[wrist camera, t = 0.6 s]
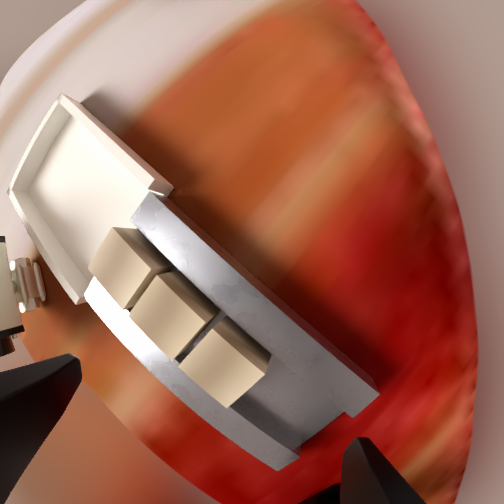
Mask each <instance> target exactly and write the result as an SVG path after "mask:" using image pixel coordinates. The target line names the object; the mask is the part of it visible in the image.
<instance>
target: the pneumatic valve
mask: <svg viewBox="0 0 504 504" xmlns="http://www.w3.org/2000/svg"><path fill="white" fill-rule="evenodd" d="M10 265H11V270H10V268H9V262H8V256H7V249H6V242H5V236H0V357H1V356H4V355H7V354H10V353H12V352H14V351H15V348H14V345H13V342H12V339H11V335H12V338H13V339H14V338H17V337H18V336H17V333H20V332H24V331H25V330H24V327H23V323H22V320H21V316H20V313H19V309H18V304H19V307H20V310H21V312H22V313H25V312H29V311H33V310H36V309H39V308H40V302H39V298H40V300H42V302H43V301H45V299H46V297H45V296H46V291H45V287H44V283H43V279H42V274H41V269H40V265H38V263H33V264H32V265H33V266H31V262H30V259H29V258H26V257H24V258H18V259H15V260H13V261H12V262H11V264H10Z"/></svg>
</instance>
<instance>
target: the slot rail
mask: <svg viewBox="0 0 504 504" xmlns="http://www.w3.org/2000/svg"><path fill="white" fill-rule="evenodd" d="M130 221H131V222H132V223H133V224H134V225H135V226H136V227H137V230H138V231H139V232H140V233H141V234H142V235H143V236H144V237H145V238H146V239H147V240H148V241H149V242H150V243H151V244H152V245H153V246H154V247H155V248H156V249H157V250H158V251H159V252H160V253H161V254H162V255H163V256H164V257H165V258H166V259H167V260H168V261H169V262H170V263H171V264H172V265H173V266H172V267H171V269H170V270H169V271H168V272H173V271H179V272H180V273H181V274H182V275H183V276H184V277H185V278H186V279H187V280H188V281H189V282H190V283H191V284H192V285H194V286H195V287H196V288H197V289H198V290H199V291H200V292H201V293H202V294H203V295H204V296H205V297H206V298H207V299H208V300H210V301H211V302H212V303H213V304H214V305H215V306H216V307H217V308H218V309H219V310H220V312H219V313H218V314H217V316H216V317H215V318H214V319H213V320H212V321H211V322H210V323H209V325H208V326H207V327H206V328H205V329H204V330H203V331H202V333H201V334H200V335H199V336H198V337H197V338H196V339H195V340H194V342H193V343H192V344H191V345H190V346H189V347H188V348H186V349H185V350H184V351H183V352H182V353H181V354H179V355H178V356H177V357H176V358H175V359H173V360H171V359H170V358H168V357H167V356H166V355H165V354H164V353H163V352H162V351H161V350H160V349H159V348H158V347H157V346H156V345H155V344H154V343H153V342H152V341H151V340H150V339H149V338H148V337H147V336H146V335H145V334H144V333H143V332H142V330H141V329H140V328H139V327H138V326H137V325H136V324H135V323H134V322H133V321H132V320H131V319H130V318H129V317H128V315H129V313H130V312H131V310H132V309H133V308H134V306H133V307H131V308H128V309H125V310H122V309H121V308H120V307H119V305H118V304H117V303H116V302H115V301H114V300H113V299H112V297H111V296H110V295H109V294H108V293H107V292H106V290H105V289H104V288H103V287H102V286H101V284H100V283H99V282H98V281H97V280H96V278H95V277H94V278H93V279H92V281H91V283H90V285H89V287H88V288H87V290H86V292H85V294H84V296H83V297H84V298H85V299H86V301H87V302H88V303H89V304H90V306H91V307H92V308H93V309H94V311H95V312H96V313H97V314H98V315H99V317H100V318H101V319H102V320H103V321H104V323H105V324H106V325H107V326H108V327H109V328H110V329H111V331H112V332H113V333H114V334H115V335H116V336H117V337H118V339H119V340H120V341H121V342H122V343H123V344H124V345H125V346H126V347H127V348H128V349H129V350H130V351H131V353H132V354H133V355H134V356H135V357H136V358H137V359H138V360H139V361H140V362H141V363H142V364H143V365H144V366H145V367H146V368H147V369H148V370H149V371H150V372H151V373H152V374H153V375H154V376H155V377H156V378H157V379H158V380H160V381H161V382H162V383H163V384H164V385H165V386H166V387H167V388H168V389H169V390H170V391H171V392H173V393H174V394H175V395H176V396H177V397H178V398H179V399H180V400H182V401H183V402H184V403H185V404H186V405H187V406H188V407H190V408H191V409H192V410H193V411H194V412H196V413H197V414H198V415H199V416H200V417H202V418H203V419H204V420H205V421H207V422H208V423H209V424H210V425H212V426H213V427H214V428H216V429H217V430H218V431H219V432H221V433H222V434H223V435H225V436H226V437H227V438H229V439H230V440H232V441H233V442H234V443H236V444H237V445H239V446H240V447H241V448H243V449H244V450H246V451H247V452H249V453H250V454H252V455H253V456H255V457H256V458H258V459H259V460H261V461H262V462H264V463H265V464H267V465H268V466H270V467H272V468H273V469H275V470H276V471H279V470H280V469H282V468H284V467H285V466H287V465H288V464H290V463H292V462H293V461H295V460H296V459H298V458H299V457H300V453H301V444H302V443H304V442H305V441H306V440H308V439H309V438H311V437H312V436H313V435H315V434H316V433H317V432H319V431H320V430H321V429H323V428H324V427H325V426H326V425H328V424H329V423H330V422H332V421H333V420H334V419H335V418H337V417H338V416H339V415H340V414H341V413H343V412H346V413H347V414H348V415H350V416H351V417H355V416H356V415H357V414H358V413H359V412H361V411H362V410H363V409H364V408H365V407H366V406H368V405H369V404H370V403H371V402H372V401H373V400H374V399H375V398H377V397H378V396H379V395H380V394H379V391H378V389H377V387H376V385H375V382H374V380H373V378H372V377H371V376H370V375H369V374H367V373H366V372H365V371H364V370H363V369H362V368H360V367H359V366H358V365H357V364H356V363H355V362H353V361H352V360H351V359H350V358H349V357H347V356H346V355H345V354H344V353H343V352H342V351H340V350H339V349H338V348H337V347H336V346H335V345H333V344H332V343H331V342H330V341H329V340H328V339H327V338H325V337H324V336H323V335H322V334H321V333H320V332H318V331H317V330H316V329H315V328H314V327H313V326H311V325H310V324H309V323H308V322H307V321H306V320H305V319H303V318H302V317H301V316H300V315H299V314H298V313H297V312H295V311H294V310H293V309H292V308H291V307H290V306H289V305H287V304H286V303H285V302H284V301H283V300H282V299H281V298H279V297H278V296H277V295H276V294H275V293H274V292H273V291H271V290H270V289H269V288H268V287H267V286H266V285H265V284H263V283H262V282H261V281H260V280H259V279H258V278H257V277H256V276H254V275H253V274H252V273H251V272H250V271H249V270H248V269H247V268H245V267H244V266H243V265H242V264H241V263H240V262H239V261H238V260H236V259H235V258H234V257H233V256H232V255H231V254H230V253H229V252H228V251H226V250H225V249H224V248H223V247H222V246H221V245H220V244H219V243H218V242H216V241H215V240H214V239H213V238H212V237H211V236H210V235H209V234H208V233H206V232H205V231H204V230H203V229H202V228H201V227H200V226H199V225H198V224H196V223H195V222H194V221H193V220H192V219H191V218H190V217H189V216H188V215H187V214H185V213H184V212H183V211H182V210H181V209H180V208H179V207H178V206H177V205H176V204H175V203H173V202H172V201H171V200H170V199H169V198H168V197H166V196H163V195H160V194H157V193H154V192H151V191H149V193H148V194H147V195H146V197H145V198H144V200H143V201H142V202H141V204H140V205H139V207H138V208H137V210H136V211H135V212H134V214H133V215H132V217H131V218H130ZM226 316H227V317H228V318H229V319H230V320H231V321H233V322H234V323H235V324H236V325H237V326H238V327H239V328H240V329H242V330H243V331H244V332H245V333H246V334H247V335H248V336H250V337H251V338H252V339H253V340H254V341H255V342H257V343H258V344H259V345H260V346H261V347H262V348H264V349H265V350H266V351H267V352H268V353H269V354H271V358H270V361H269V364H268V367H267V370H266V373H265V375H264V376H263V377H262V378H260V379H259V380H258V381H257V382H256V383H255V384H254V385H253V386H252V387H251V388H249V389H248V390H247V391H246V392H245V393H244V394H243V395H242V396H240V397H239V398H238V399H237V400H236V401H235V402H233V403H232V404H231V405H230V406H229V407H228V408H226V407H224V406H223V405H222V404H221V403H219V402H218V401H217V400H216V399H214V398H213V397H212V396H211V395H210V394H208V393H207V392H206V391H205V390H204V389H203V388H201V387H200V386H199V385H198V384H197V383H196V382H195V381H193V380H192V379H191V378H190V377H189V376H188V375H187V374H186V373H185V372H183V371H182V370H181V369H180V368H179V367H178V366H179V365H180V363H181V362H182V361H183V360H184V359H185V358H186V357H187V356H188V355H189V354H190V352H191V351H192V350H193V349H194V348H195V347H196V346H197V345H198V344H199V343H200V341H201V340H202V339H203V338H204V337H205V336H206V335H207V334H208V333H209V331H210V330H211V329H212V328H213V327H214V326H215V325H217V324H218V323H219V322H220V321H221V320H222V319H223V318H224V317H226Z"/></svg>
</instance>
